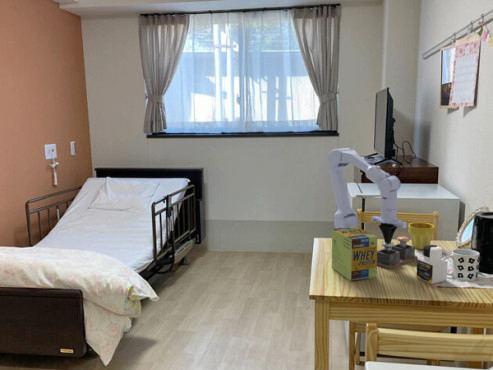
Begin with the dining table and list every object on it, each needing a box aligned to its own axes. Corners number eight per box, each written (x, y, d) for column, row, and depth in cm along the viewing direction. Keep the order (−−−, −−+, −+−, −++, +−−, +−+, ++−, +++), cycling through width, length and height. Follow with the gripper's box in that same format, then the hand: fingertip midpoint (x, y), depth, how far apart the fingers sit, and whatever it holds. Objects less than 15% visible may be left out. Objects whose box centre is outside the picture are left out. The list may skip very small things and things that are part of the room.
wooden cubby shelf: (389, 269, 161) (390, 256, 161) (372, 263, 168) (372, 251, 167) (417, 258, 172) (417, 246, 171) (399, 253, 178) (400, 242, 177)
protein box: (351, 282, 151) (351, 239, 148) (331, 267, 165) (331, 228, 163) (377, 278, 153) (378, 236, 151) (355, 264, 168) (356, 225, 165)
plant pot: (423, 252, 179) (424, 229, 178) (402, 246, 188) (403, 224, 186) (438, 247, 185) (439, 225, 183) (417, 242, 193) (418, 221, 192)
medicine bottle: (415, 277, 153) (417, 245, 151) (431, 274, 156) (432, 242, 154) (431, 284, 146) (433, 250, 144) (447, 280, 149) (448, 247, 147)
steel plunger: (389, 255, 163) (389, 245, 163) (379, 252, 167) (379, 242, 166) (396, 253, 166) (396, 243, 165) (386, 250, 169) (386, 240, 169)
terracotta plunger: (404, 250, 169) (404, 240, 168) (394, 247, 173) (395, 237, 172) (411, 247, 172) (411, 238, 171) (401, 245, 175) (401, 235, 174)
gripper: (366, 206, 167) (365, 240, 169) (399, 213, 155) (398, 249, 157) (377, 204, 171) (377, 237, 173) (410, 210, 159) (409, 245, 162)
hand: (387, 242), depth 166 cm, fingers closed
